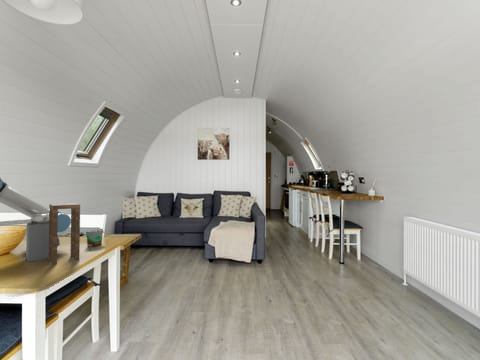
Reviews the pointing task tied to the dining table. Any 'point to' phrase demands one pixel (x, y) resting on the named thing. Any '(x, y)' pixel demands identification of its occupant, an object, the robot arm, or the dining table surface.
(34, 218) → the silver saucepan
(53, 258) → the tall stand
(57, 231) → the robot arm
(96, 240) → the food container
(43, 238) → the gray rectangular block
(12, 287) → the dining table surface
